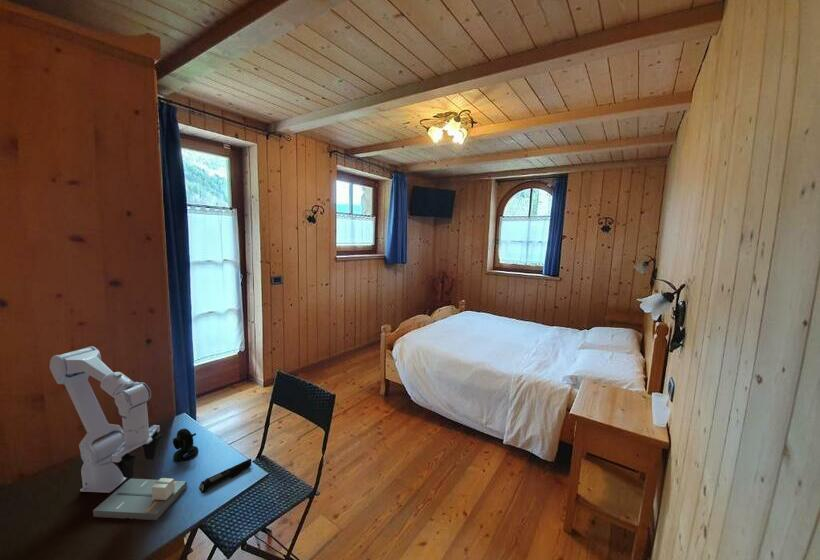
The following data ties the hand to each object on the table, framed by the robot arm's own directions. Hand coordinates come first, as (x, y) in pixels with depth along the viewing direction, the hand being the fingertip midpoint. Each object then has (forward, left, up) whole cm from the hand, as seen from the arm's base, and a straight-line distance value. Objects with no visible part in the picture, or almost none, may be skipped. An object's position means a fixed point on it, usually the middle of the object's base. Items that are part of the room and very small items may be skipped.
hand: (139, 467), depth 97 cm
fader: (+8, -2, -7) cm, 11 cm away
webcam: (+1, +18, -10) cm, 21 cm away
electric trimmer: (+21, +9, -10) cm, 25 cm away
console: (+2, -2, -9) cm, 10 cm away
